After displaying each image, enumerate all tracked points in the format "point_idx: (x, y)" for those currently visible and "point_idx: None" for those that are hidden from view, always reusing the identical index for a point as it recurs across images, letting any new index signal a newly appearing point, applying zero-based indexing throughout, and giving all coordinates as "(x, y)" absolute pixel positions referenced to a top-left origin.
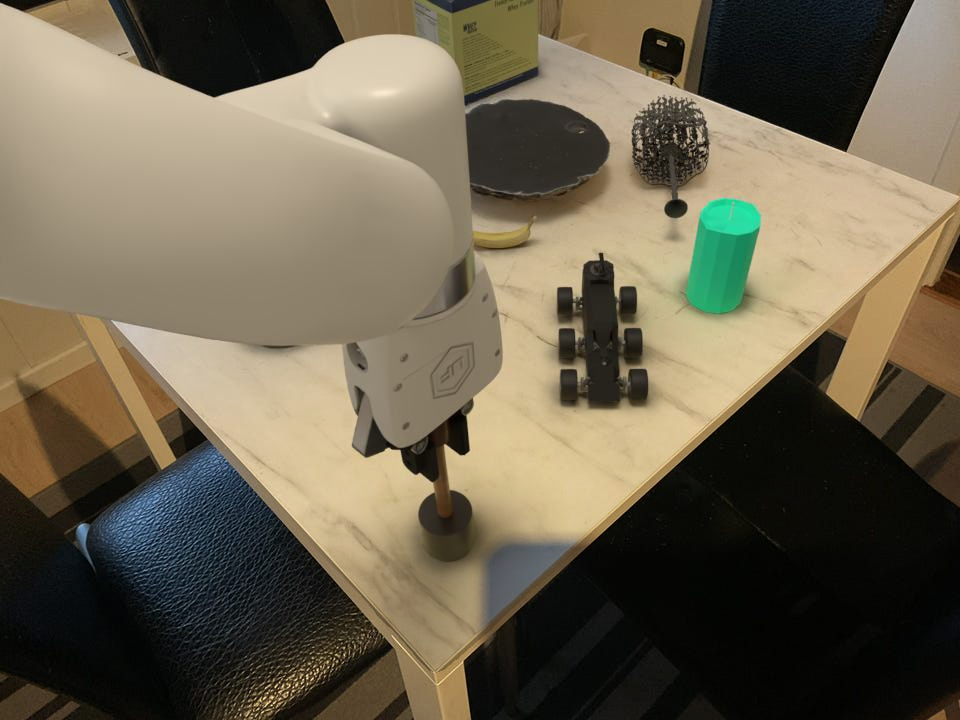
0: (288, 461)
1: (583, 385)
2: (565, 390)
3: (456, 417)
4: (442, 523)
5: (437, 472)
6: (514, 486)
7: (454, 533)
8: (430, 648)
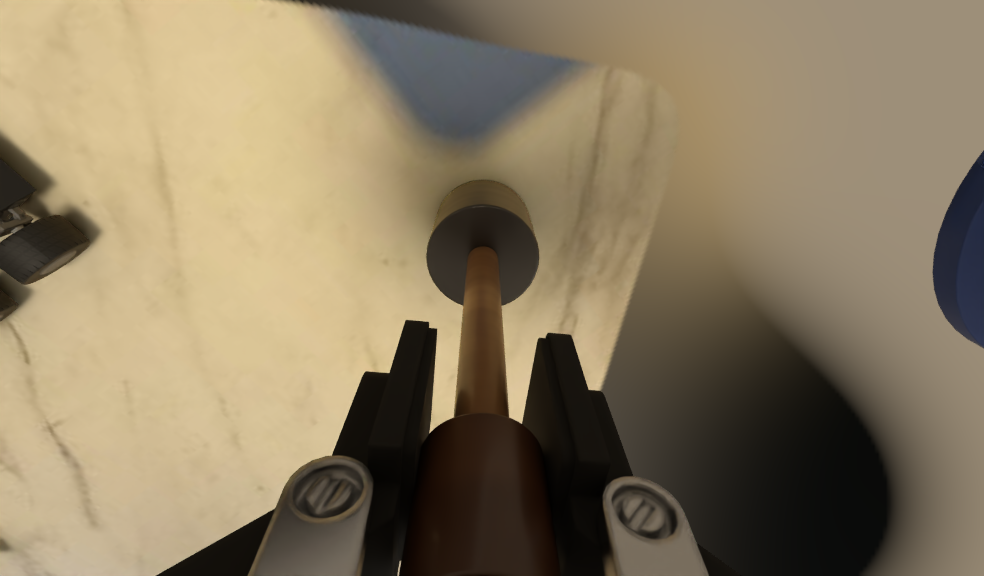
0: None
1: (10, 221)
2: (55, 244)
3: (394, 479)
4: (508, 247)
5: (556, 350)
6: (316, 196)
7: (512, 214)
8: (676, 117)
